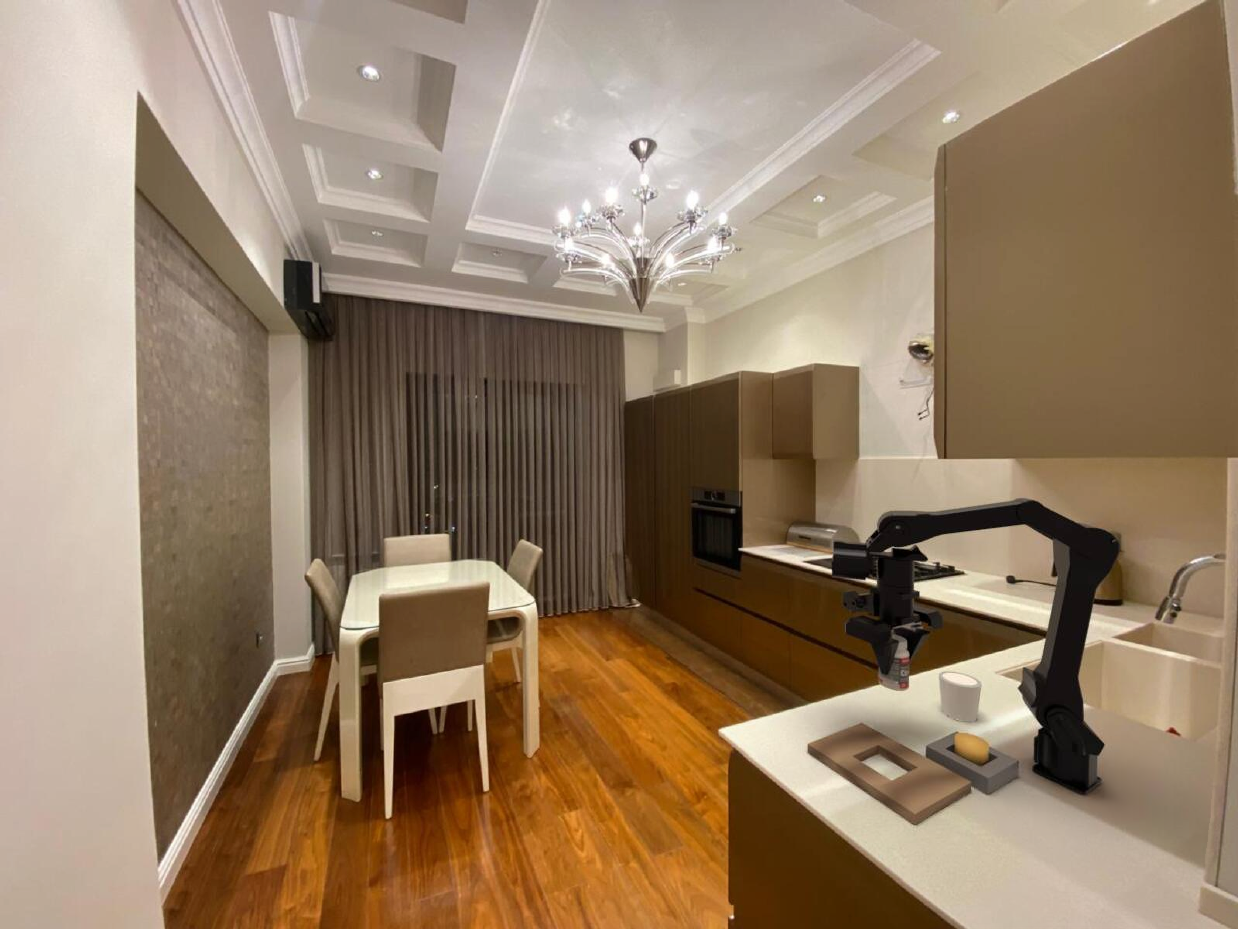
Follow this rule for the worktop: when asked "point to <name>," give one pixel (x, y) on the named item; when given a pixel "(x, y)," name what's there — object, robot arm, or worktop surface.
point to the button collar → (974, 765)
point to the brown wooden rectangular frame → (905, 795)
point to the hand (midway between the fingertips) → (893, 671)
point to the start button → (972, 748)
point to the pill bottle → (897, 668)
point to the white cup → (959, 695)
